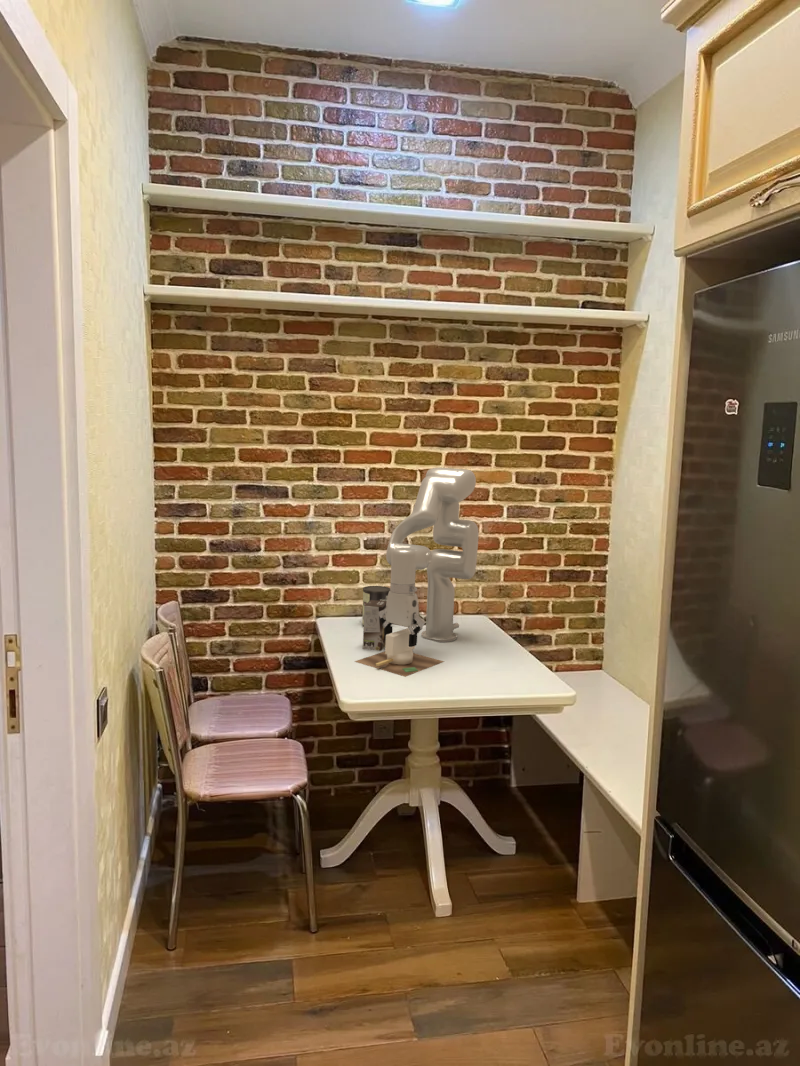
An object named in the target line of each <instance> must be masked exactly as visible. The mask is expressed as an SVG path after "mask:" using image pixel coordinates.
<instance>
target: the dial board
mask: <svg viewBox="0 0 800 1066" xmlns="http://www.w3.org/2000/svg"><path fill="white" fill-rule="evenodd" d="M384 660H387V654H385V650H384V651H380V652H378V653H375V654H372V655H369V656H367V657H364V658H361V659H357V660H354V663H357V664H361V665H364V666H368V667H371V668H374V669H378V670H381V671H384V672H388V673H392V674H394V675H399V676H402V677H405V678H406V677H408V676H409V677H410V676H411V675H413V674H416V673H419V672H422V671H425V670H427V669H429V668H432V667H434V666H437V665H440V664H443V663H445V661H444V660H441V659H437V658H433V657H430V656H426V655H422V654H418V653H415V652H413V662H412V663H410V664H405V665H398V664H392V663H386V664H383V665H380V666H376V663H379V662H381V661H384Z"/></svg>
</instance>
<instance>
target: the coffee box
mask: <svg viewBox="0 0 800 1066" xmlns="http://www.w3.org/2000/svg"><path fill="white" fill-rule="evenodd" d="M386 603H387V601H379V600H376V601H375V600H370V601H369V602H368V603H367V604H366V605H365V606H364V627H363V632H362V633H363V636H362V650H367V651H377V652H378V651H379V652H382V650H383V649H385V644H386V640H384V627H383V624H382V622H381V621H380V619H381V618H380V616H379V611H382V610H384V609H386Z"/></svg>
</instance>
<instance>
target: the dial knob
mask: <svg viewBox="0 0 800 1066" xmlns="http://www.w3.org/2000/svg"><path fill="white" fill-rule="evenodd" d="M409 634H411V632H410V631H409V629H408V627H406V628H405V629H401V630H397V631H394V632H392V633H390V634H387V635H386V644H385V647H384V649H385V650H384V651H385V654H387V660H384V661H381V662H379V663H376V666H380V665H383V664H386V663H392V664H398V665H405V664H410V663H412V662H413V653H414V651H413V650H415V649H416V646H413V647H409Z"/></svg>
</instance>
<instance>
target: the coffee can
mask: <svg viewBox="0 0 800 1066" xmlns="http://www.w3.org/2000/svg"><path fill="white" fill-rule="evenodd" d="M389 591H390V587H388V586H383V585H367V586H364V587H362V595H363V596H362V614H361V615H362V618H361V625H362V624H363V625H364V606H365V605H366V604H367V603H368V602H369V601H370V600H375V601H376V600H379V601H387V597H388V593H389Z"/></svg>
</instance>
